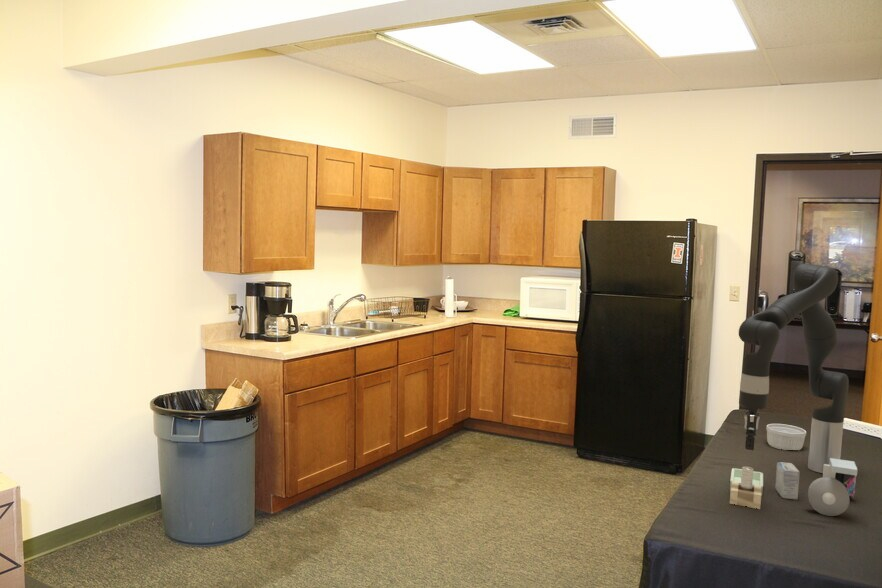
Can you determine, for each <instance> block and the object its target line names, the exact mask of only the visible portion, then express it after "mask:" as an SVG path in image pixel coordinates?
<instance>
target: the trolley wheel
mask: <svg viewBox="0 0 882 588" xmlns="http://www.w3.org/2000/svg"><path fill="white" fill-rule="evenodd" d="M829 464H830V465H827V464H824V468H823V473H822V477H819V478H816V479H814V480H813V481H812V482H811V483H810V484H809V487H808V489H807V498H808V501H809V504H810V505H811V507H812V508H813V510H815V511H816V512H817V513H819V514H820V515H824V516H825V517H826V516H827V517H828V516H829V517H834V516H839V515H841V514H843V513H844V512H846V510H847V509H848V507H849V506H850V501H849V495H848V492H847V489H846V488H845V486H844V485H843V484H842V483H841V482H840V481H838V480H836V479H835V474H836V472H837V473H843V474H850V475H856V477H857V476H858V466H857V467H856V465H857V464H856V462H855V461H853V460H846V459H841V458H840V459H833V458H830V462H829ZM855 464H856V465H855Z"/></svg>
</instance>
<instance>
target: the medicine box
mask: <svg viewBox="0 0 882 588" xmlns="http://www.w3.org/2000/svg"><path fill="white" fill-rule="evenodd" d="M799 485H800V470H799V469H798V468H797V467H796V466H795V465H794V464H793V462H792V463H791V462H782V461H781V462H780V461H779V462H777V463H776V473H775V487H774V489H775V490H776V492H777V493H778V494H779V496H780V497H781V498H782V499H787V500H788V499H789V500H796V501H797V500H798V499H799V498H798V497H799Z"/></svg>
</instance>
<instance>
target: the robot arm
mask: <svg viewBox="0 0 882 588" xmlns="http://www.w3.org/2000/svg"><path fill="white" fill-rule="evenodd" d="M792 281H793V289H794V292H793V293H790V294H787V295H784V296H782V297H780V298H778V299H776V300H774V301H773V302H772V304H770V305H769V306H768V307H767V308H766V309H765V310H762V311H760V312H757V313H756V314H752V315H751V316H749V317H747V318H746V319H745V320H743V322H742V323H741V324H740V326H739V329H738V337H739V339H740V340H741V341H742V342H743V343H745V344H748V345H754V346H759V348H758V349H757V351H756V352H748V353H746V354H744V356H743V360H742V372H741V378H740V383H739V384H740V385H739V398H738V404H739V406H741V407H743V408H747V410H745V411H744V429H745V430H746V432H745V433H744V434H745V436H746V437H745V445H744V446H745V448H744V449H746V450H748V451H753V450H754V449H755V438H756V437H757V433H756V432H757V431H758V430H759V429H758V428H759V422H760V419H761V418H760V415H761V414H760V412H758V410H765V409H767V408H768V404H769V394H770V392H769V391H770V370H771V369H770V368H771V362H772V358H773V355H774V352H775V351H776V350H775V349H776V347H777V344H778V343H779V339H780V335H781V333H780V330H782V329H784V328H785V327H786V326H787V325H789V323H791V322H792V321H793V320H794V319H795V318H796V317H798V315H800V317H801V321H802V322H801V323H802V330H803V331H802V332H803V339H804V345H805V350H806V355H807V361H808V366H807V367H808V384H809V391H810V393H811V395H812V396H813V397H816V398H820V399H821V398H822V399H825V400H832V403H831V404H830V405H827V406H820V407H815V408H814V409H812V413H811V426H810V438H809V446H808V447H809V448H808V460H807V468H808V469H809V470H810V471H813V472H816V473H819V474H820V473H821V474H823V468H824V464H827V465H830V464H829V462H830V458H833V459H840V460H841V453H842V442H843V432H844V421H845V414H846V406H847V405H846V404H847V397H848V394H849V393H848V392H849V386H850V385H849V383H850V382H849V381H850V380H849V377H848V375H847V374H845V373H843V372H840V371H839V372H838V371H830V370H825V369H823V364H824V362H825V360H827V359H828V357H829V356H830V355H831V354H832V353H833V351H834V350H835V349H836V347H837V345H838V335H837V334H838V333H837V327H836V323H835V321H834V320H833V318H832V317H831V315H830V314H829V313H828V311H827V310H825V308H824V307H823V305H821V303H820V302H821V301H823V300H824V299H825V300H826V298H828V297H829V296H831V295H832V294H833V293H834V292H835V290H836V288H837V285H838V283H839V274H838V272H837V270H836V269H835V268H833V267H830V266H827V265H819V264H815V263H814V264H813V263H800V264H798V265H797V266H796V268H795V270H794V273H793V279H792Z"/></svg>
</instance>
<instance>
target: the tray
mask: <svg viewBox="0 0 882 588" xmlns="http://www.w3.org/2000/svg"><path fill="white" fill-rule="evenodd" d="M741 476H742V468H735V467H732V468H731V473H730V479H729V481H730V482H729V492H731V484H732V482H738V483H741ZM752 485H755V486H761V498H762V497H763V493H764V492H763V489H764V473H763V472H760V471H754V470H753V481H752Z"/></svg>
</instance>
